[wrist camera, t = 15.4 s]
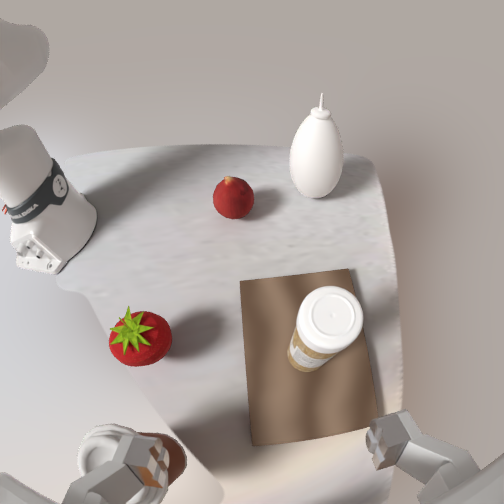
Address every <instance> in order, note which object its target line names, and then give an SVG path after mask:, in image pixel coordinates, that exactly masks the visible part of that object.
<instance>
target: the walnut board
mask: <svg viewBox="0 0 504 504" xmlns="http://www.w3.org/2000/svg"><path fill="white" fill-rule="evenodd" d="M324 286H336V287H340V288H343V289H345V290H347V291H349V292H350V293H352V294H353V295H354V296H355V292H354V288H353V284H352V280H351V276H350V273H349V269H341V270H333V271H325V272H317V273H309V274H300V275H292V276H283V277H274V278H264V279H255V280H245V281H240V293H241V308H242V323H243V337H244V350H245V364H246V377H247V389H248V402H249V414H250V425H251V437H252V446H261V445H273V444H283V443H291V442H299V441H305V440H312V439H317V438H323V437H328V436H333V435H338V434H342V433H347V432H351V431H355V430H359V429H363V428H367V427H370V426H369V424H370V421H371V420H372V419H375V418H378V412H377V404H376V397H375V390H374V384H373V378H372V372H371V366H370V360H369V355H368V350H367V345H366V340H365V335H364V330H363V326H362V329H361V332H360V334H359V335H358V337H357V338H356V339H355V340H354V341H353V342H352V343H351V344H350V345H349V346H348V347H346V348H345V349H343V350H341V351H339V352H338V353H337V354H336V355H335V356H333V357H332V358H331V359H329V360H328V361H327V362H325V363H324V364H323V365H322V366H321V367H320V368H319V369H317V370H315V371H311V372H303V371H300V370H298V369H296V368H294V367H293V366H292V364H291V363H290V361H289V359H288V355H287V351H288V347H289V344H290V342H291V339H292V336H293V333H294V330H295V328H296V326H297V325H296V322H297V316H298V312H299V309H300V306H301V304H302V302H303V300H304V299H305V298H306V296H307V295H308V294H309V293H311V292H312V291H314V290H316V289H318V288H320V287H324ZM355 297H356V296H355Z"/></svg>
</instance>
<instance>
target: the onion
mask: <svg viewBox="0 0 504 504" xmlns="http://www.w3.org/2000/svg"><path fill="white" fill-rule="evenodd" d="M213 203H214V206H215V208H216V210H217V211H218V213H220V214H221V215H223V216H224V217H226V218H230V219H239V218H242V217H244V216H245V215H247V214H248V213H249V212H250V210H251V208H252V206H253V204H254V193H253V190H252V189H251V187H250V186H249V185H248V183H247V182H246V181H244V180H242V179H240V178H237V177H230V176H226V177H224V180H222V181H221V182H220V183H219V184H218V185H217V186H216V189H215V191H214V194H213Z"/></svg>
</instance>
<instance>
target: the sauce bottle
mask: <svg viewBox="0 0 504 504" xmlns="http://www.w3.org/2000/svg"><path fill="white" fill-rule="evenodd" d="M342 168H343V146H342V141H341V138H340V134H339V131H338V129H337V126H336V124H335V123H334V121H333V119H332V118H331V112H330V111H329V110H328V109H327V108H324V107H323V93H322V94H321V98H320V107H314V108H312V110H311V114H310V115H309V116H307V117H306V118H305V120H304V121H303V122H302V124H301V125H300V127H299V128H298V130H297V132H296V134H295V137H294V139H293V142H292V146H291V150H290V173H291V177H292V180H293V182H294V184H295V186H296V188H297V189H298V190H299V192H300V193H301V194H302V195H304V196H306V197H309V198H320V197H324V196H326V195H327V194H329V193H330V192H331V191H332V190H333V189H334V188H335V186H336V185H337V183H338V181H339V179H340V176H341V173H342Z"/></svg>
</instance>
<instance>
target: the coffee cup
mask: <svg viewBox="0 0 504 504" xmlns="http://www.w3.org/2000/svg"><path fill="white" fill-rule="evenodd" d="M125 433H128V434H135V435H140V436H147V437H155V438H160V439H161V441H162V442H163V444H162V446H163V447H164V448H166V449H167V451H168V454H169V466H168V469H166V470H165V471H164V474H165V475H166V479H165V483H164V487H163V488H157V487H150V486H144V487H143V488H142V489H141V490H140V491H139V492H138V493H137V494H136V495H135V496H134V497H132V498H131V499H130V500H129V501H128V502H127V503H126V504H160V503H161V502H162V500H163V498H164V497H165V495H166V493H167V491H168V486H169V485H171V484H172V483H173V482H174V481H175V480H176V478H178V477H179V476H180V475H181V474H182V473H183V472H184V470H185V468H186V466H187V456H186V454H185V451H184V449H183V447H182V446H181V445H180V444H179V443H178V442H177V440H175V439H173V438H172V437H170V436H168V435H166V434H160V433H142V432H136V431H134V430H133V429H131V428H128V427H124V426H120V425H117V424H107V425H100V426H96V427H94V428H93V429H92V430H91V431H89V432H88V433H87V434H85V436H84V439H83V441H82V443H81V445H80V448H79V450H78V453H77V462H78V469H79V471H80V474H81V477H83V476H84V475H86V474H88V473H89V472H91V471H93V470H94V469H96V468H97V467H99V466H100V465H102V464H104V463H105V462H107V461H108V460H109V461H112V458H113V456H114V454H115V451H116V449H117V447H118V444H119V442H120V440H121V437H122V435H124V434H125Z"/></svg>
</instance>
